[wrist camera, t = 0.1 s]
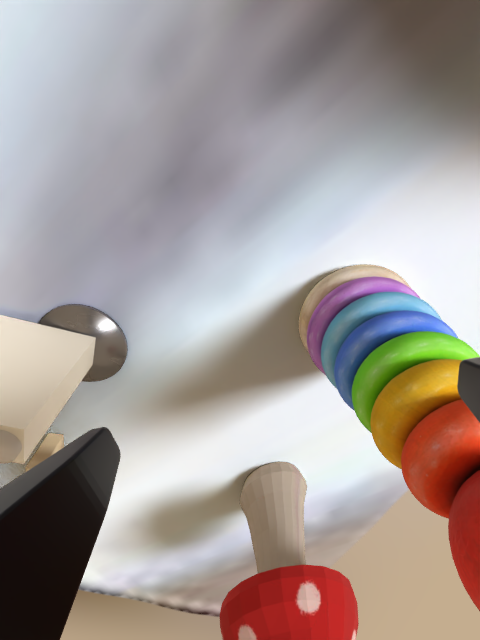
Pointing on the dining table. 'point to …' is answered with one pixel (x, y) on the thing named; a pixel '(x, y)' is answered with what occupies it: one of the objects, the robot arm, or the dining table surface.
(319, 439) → the dining table surface
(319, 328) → the stacking toy
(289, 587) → the decorative mushroom
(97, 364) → the pivot plate
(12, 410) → the lever
